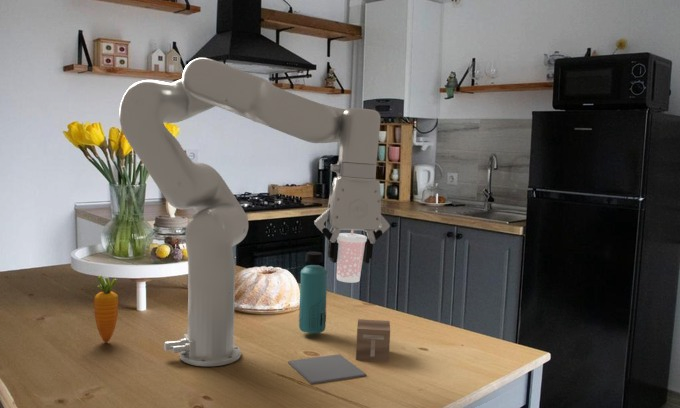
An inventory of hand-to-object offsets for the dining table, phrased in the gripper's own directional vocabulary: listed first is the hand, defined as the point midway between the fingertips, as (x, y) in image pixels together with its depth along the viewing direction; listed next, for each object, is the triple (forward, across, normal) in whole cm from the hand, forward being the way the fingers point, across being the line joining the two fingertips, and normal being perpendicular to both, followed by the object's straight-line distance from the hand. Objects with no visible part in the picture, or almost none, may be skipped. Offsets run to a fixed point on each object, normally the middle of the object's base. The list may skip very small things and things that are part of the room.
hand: (349, 260), depth 128 cm
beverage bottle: (+23, -1, +23) cm, 33 cm away
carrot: (+25, -47, +24) cm, 58 cm away
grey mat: (+23, -3, +1) cm, 23 cm away
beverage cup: (+4, 0, 0) cm, 4 cm away
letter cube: (+23, +9, +7) cm, 26 cm away
